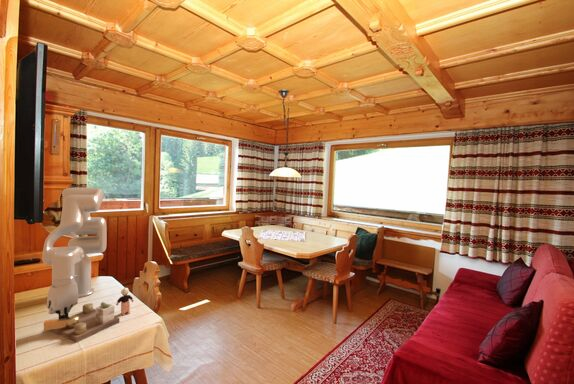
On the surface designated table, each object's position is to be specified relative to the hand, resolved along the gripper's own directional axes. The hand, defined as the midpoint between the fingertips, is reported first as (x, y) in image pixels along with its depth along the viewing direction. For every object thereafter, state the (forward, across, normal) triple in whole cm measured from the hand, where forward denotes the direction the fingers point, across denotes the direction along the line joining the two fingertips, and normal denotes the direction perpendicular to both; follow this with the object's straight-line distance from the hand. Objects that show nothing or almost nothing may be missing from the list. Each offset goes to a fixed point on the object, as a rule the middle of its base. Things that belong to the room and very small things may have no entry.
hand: (63, 322), depth 122 cm
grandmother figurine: (+3, -20, +11) cm, 23 cm away
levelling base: (+3, -6, +5) cm, 8 cm away
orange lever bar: (+1, +2, +2) cm, 3 cm away
